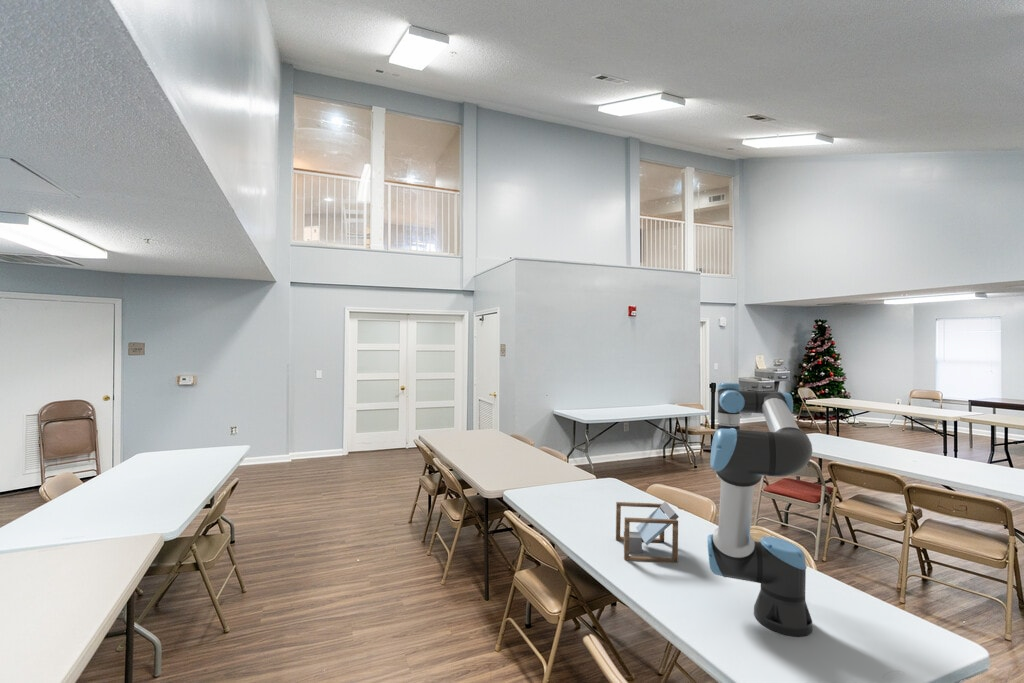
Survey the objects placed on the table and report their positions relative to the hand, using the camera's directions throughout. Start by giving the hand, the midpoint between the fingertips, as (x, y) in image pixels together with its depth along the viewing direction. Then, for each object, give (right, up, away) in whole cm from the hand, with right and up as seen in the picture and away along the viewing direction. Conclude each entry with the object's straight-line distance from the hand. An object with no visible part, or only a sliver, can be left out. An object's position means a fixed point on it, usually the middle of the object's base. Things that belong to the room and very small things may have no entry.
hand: (728, 482), depth 168 cm
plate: (-20, -22, +17) cm, 34 cm away
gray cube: (-28, -30, +17) cm, 44 cm away
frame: (-26, -33, +17) cm, 45 cm away
